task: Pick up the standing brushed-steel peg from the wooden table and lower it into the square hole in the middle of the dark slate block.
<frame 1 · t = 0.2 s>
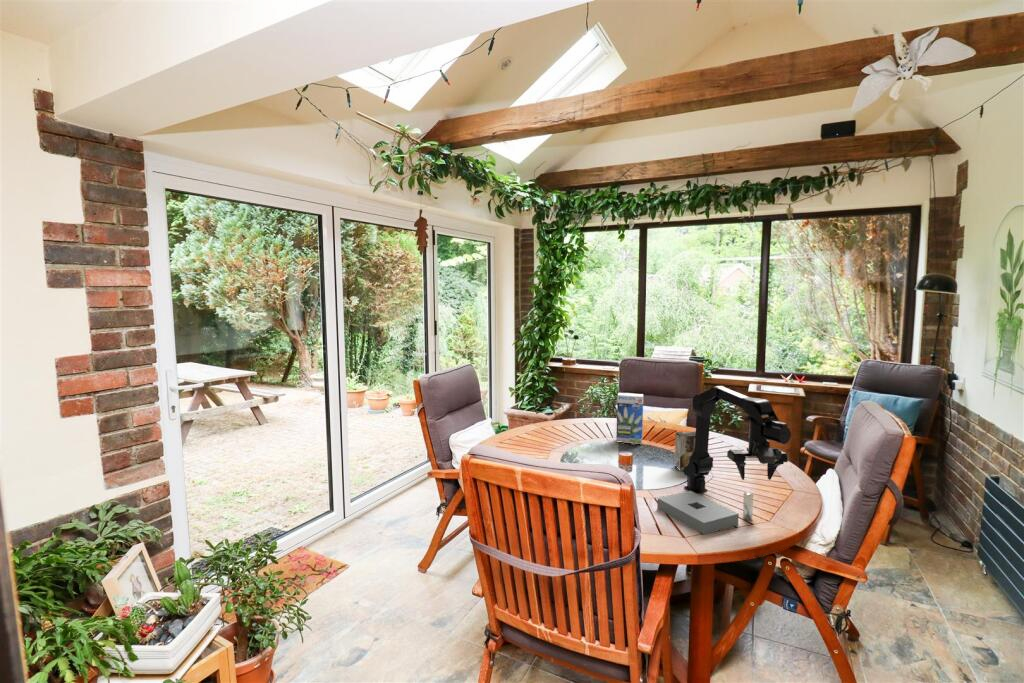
hand: (756, 479, 174), 14 cm above the table, tool pointing down, fingers open, 9 cm apart
hole block: (696, 516, 177), on the table
coffee box: (686, 468, 226), on the table
string lights box: (629, 442, 265), on the table
steel peg: (747, 518, 176), on the table
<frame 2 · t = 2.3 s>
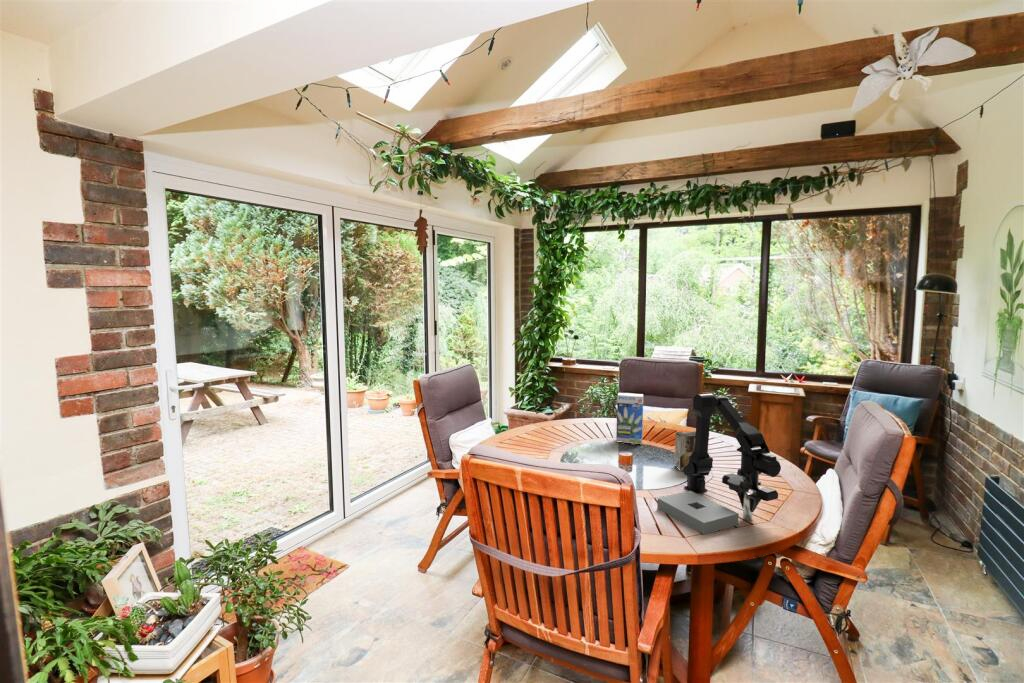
hand: (747, 510, 175), 3 cm above the table, tool pointing down, fingers closed on steel peg, 3 cm apart
steel peg: (747, 518, 176), on the table, touching gripper
everything else where it was.
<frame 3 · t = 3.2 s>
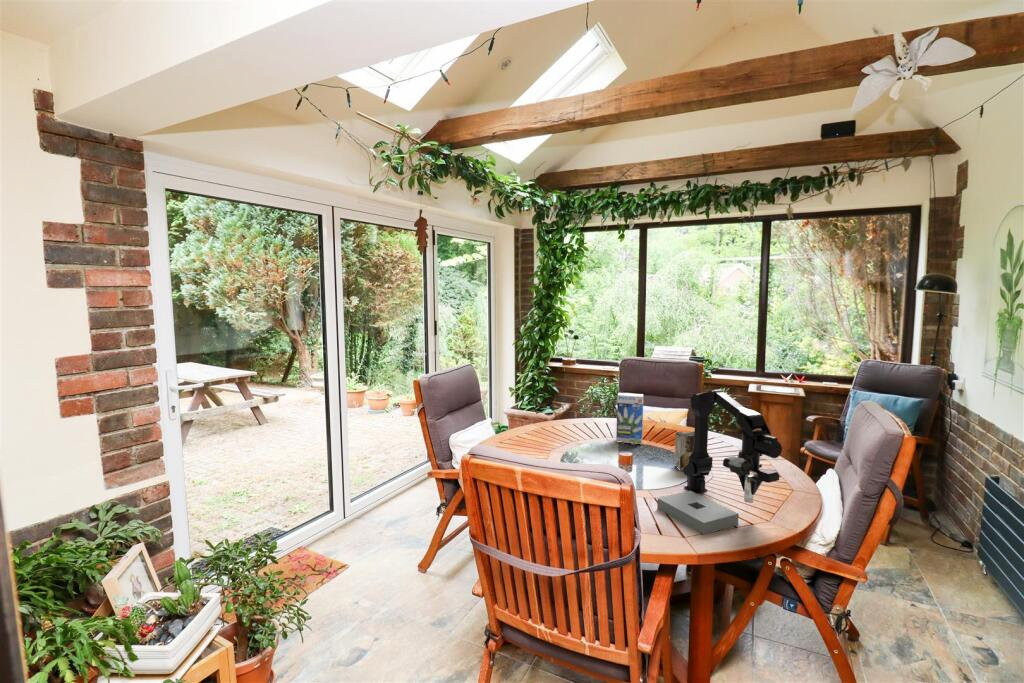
hand: (748, 492, 175), 9 cm above the table, tool pointing down, fingers closed on steel peg, 3 cm apart
steel peg: (748, 501, 175), point 6 cm above the table, touching gripper
everything else where it was.
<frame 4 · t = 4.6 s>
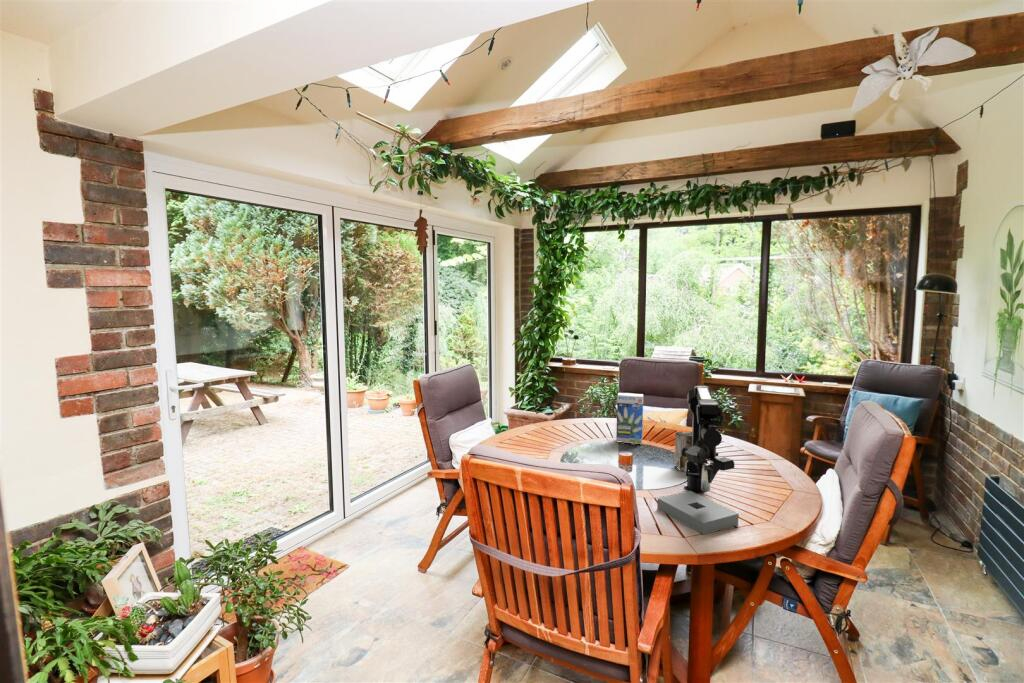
hand: (706, 481, 176), 13 cm above the table, tool pointing down, fingers closed on steel peg, 3 cm apart
steel peg: (705, 489, 176), point 10 cm above the table, touching gripper
everything else where it was.
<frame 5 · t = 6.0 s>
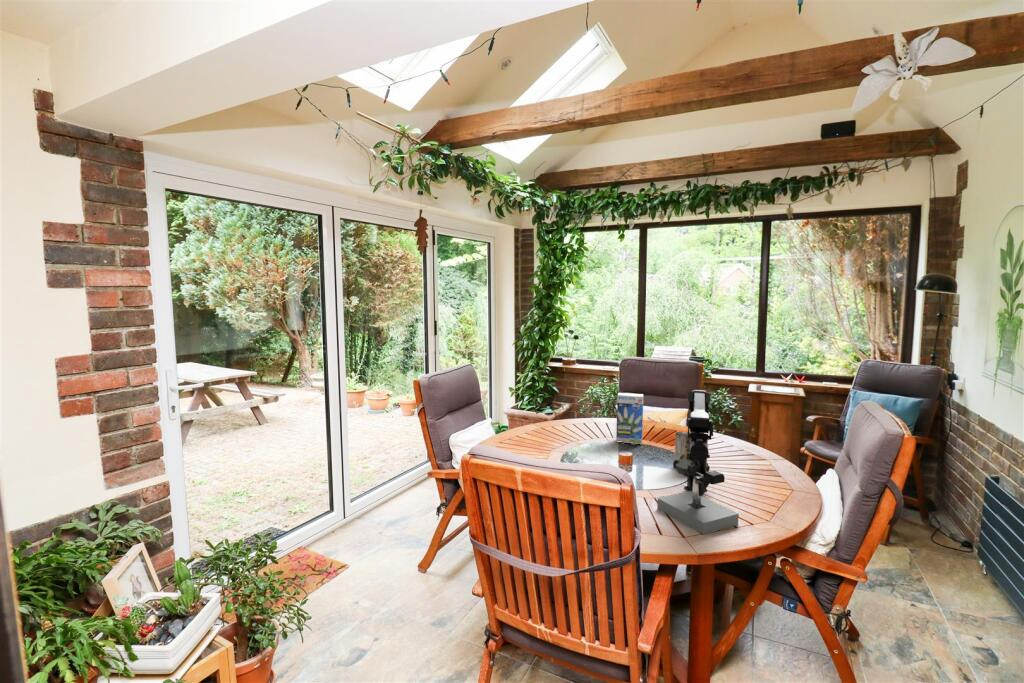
hand: (697, 494, 177), 8 cm above the table, tool pointing down, fingers closed on steel peg, 3 cm apart
steel peg: (696, 502, 177), point 5 cm above the table, touching gripper
everything else where it was.
when the fingers open (5 cm above the table, at t = 7.0 s): steel peg drops 2 cm, resting in hole block.
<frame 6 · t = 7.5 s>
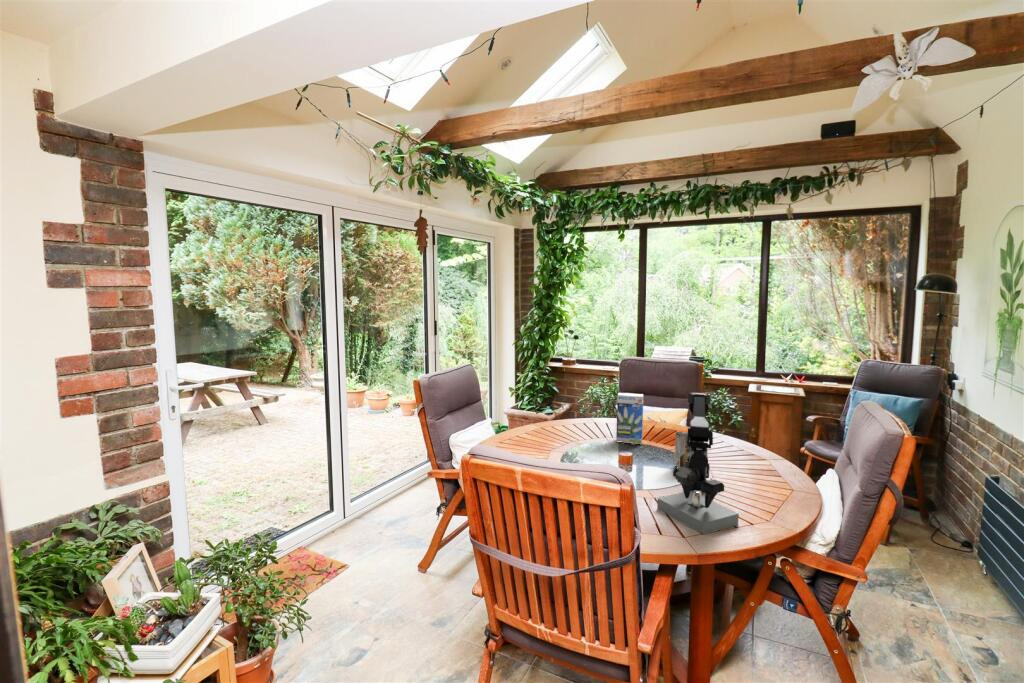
hand: (696, 502, 177), 5 cm above the table, tool pointing down, fingers open, 9 cm apart
steel peg: (696, 516, 177), resting in hole block
everything else where it was.
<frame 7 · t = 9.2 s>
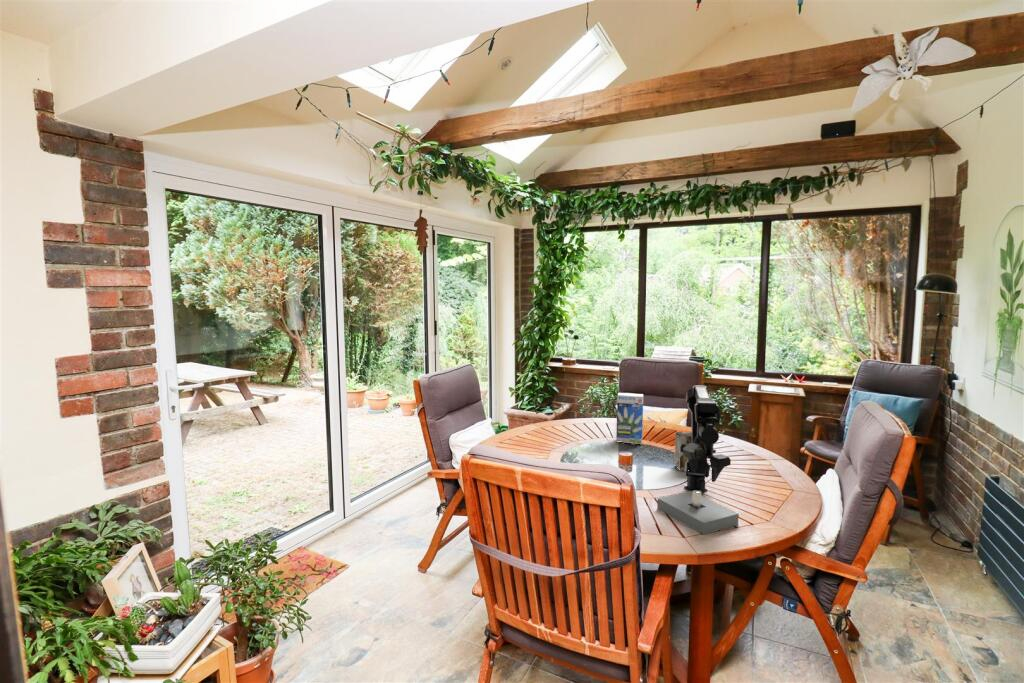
hand: (703, 477, 181), 13 cm above the table, tool pointing down, fingers open, 9 cm apart
nothing on the table moved.
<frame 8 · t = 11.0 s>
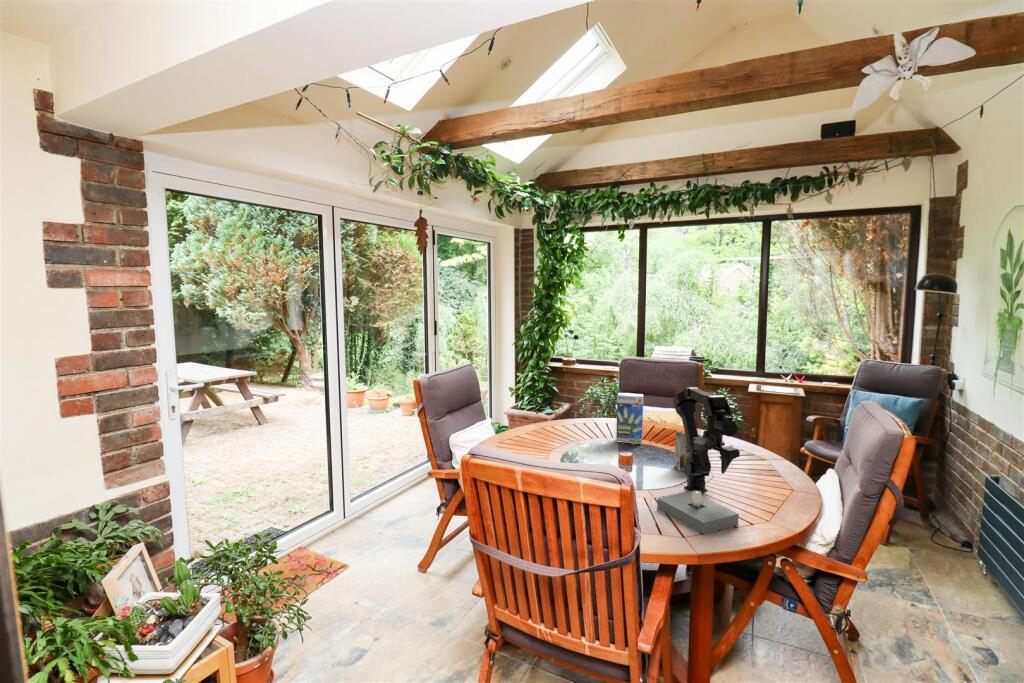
hand: (713, 469, 187), 13 cm above the table, tool pointing down, fingers open, 9 cm apart
nothing on the table moved.
at the end: steel peg 0.0 cm off-centre on the hole block, point 0.0 cm above the hole block's base; steel peg tilted 0°; the gripper is holding nothing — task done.
